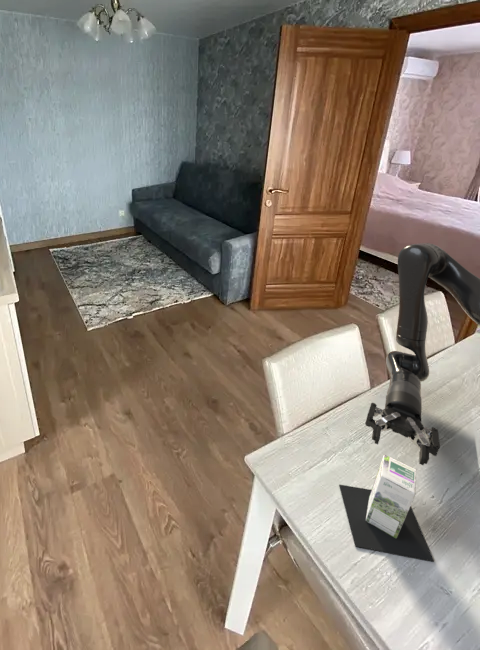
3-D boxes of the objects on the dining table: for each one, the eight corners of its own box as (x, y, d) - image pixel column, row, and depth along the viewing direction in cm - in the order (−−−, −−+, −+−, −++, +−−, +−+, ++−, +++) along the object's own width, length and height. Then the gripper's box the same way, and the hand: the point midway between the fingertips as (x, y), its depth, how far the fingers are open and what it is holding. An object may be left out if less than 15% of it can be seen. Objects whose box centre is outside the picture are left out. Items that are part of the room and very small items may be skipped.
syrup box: (398, 514, 73) (417, 467, 67) (396, 541, 68) (416, 493, 63) (368, 497, 76) (384, 451, 70) (364, 522, 71) (380, 475, 66)
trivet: (405, 496, 76) (406, 495, 76) (433, 562, 65) (434, 561, 65) (339, 485, 78) (339, 484, 78) (355, 546, 67) (355, 546, 67)
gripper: (375, 379, 90) (366, 423, 78) (442, 404, 82) (444, 457, 70) (369, 401, 93) (359, 446, 80) (433, 427, 85) (433, 481, 73)
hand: (399, 451), depth 75 cm, fingers open, 8 cm apart
